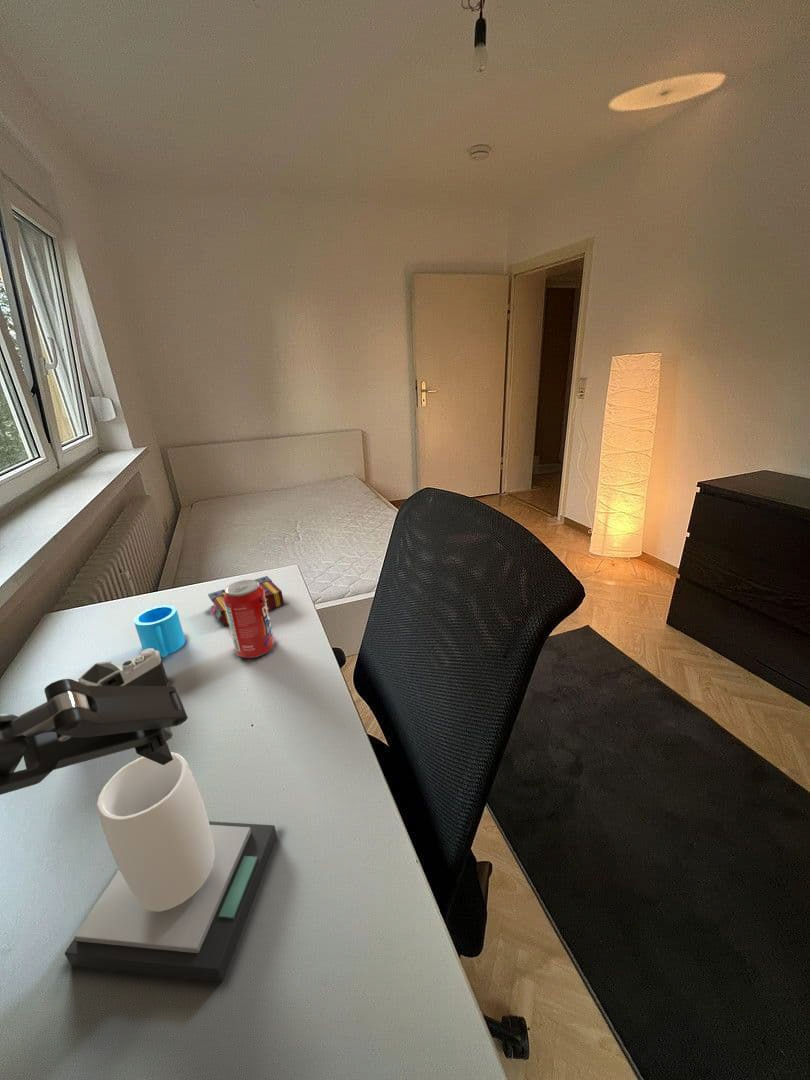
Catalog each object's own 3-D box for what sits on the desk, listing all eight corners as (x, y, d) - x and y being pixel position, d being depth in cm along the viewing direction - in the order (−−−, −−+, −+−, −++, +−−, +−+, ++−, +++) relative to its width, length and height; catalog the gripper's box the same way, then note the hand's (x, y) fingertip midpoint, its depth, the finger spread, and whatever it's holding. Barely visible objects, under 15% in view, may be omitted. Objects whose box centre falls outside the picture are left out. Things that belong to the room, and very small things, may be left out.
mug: (144, 644, 98) (134, 612, 95) (184, 632, 102) (175, 601, 99) (143, 673, 88) (132, 638, 85) (188, 659, 92) (178, 625, 89)
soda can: (228, 658, 91) (212, 593, 86) (251, 637, 98) (238, 576, 93) (260, 663, 89) (246, 597, 83) (282, 641, 96) (270, 579, 90)
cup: (137, 943, 43) (91, 843, 38) (132, 868, 49) (92, 775, 44) (228, 887, 47) (197, 790, 42) (212, 825, 54) (183, 735, 49)
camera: (151, 672, 88) (137, 629, 85) (176, 685, 84) (163, 640, 80) (61, 726, 76) (40, 678, 72) (86, 744, 71) (65, 694, 68)
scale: (71, 967, 44) (60, 948, 43) (159, 830, 57) (152, 813, 56) (223, 984, 42) (215, 964, 41) (277, 838, 55) (273, 820, 54)
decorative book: (285, 606, 110) (282, 588, 108) (218, 630, 102) (214, 611, 100) (269, 590, 119) (266, 573, 117) (207, 611, 110) (202, 593, 109)
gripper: (-1090, 1327, 9) (-157, 995, 26) (193, 675, 19) (249, 748, 37) (-886, 922, 12) (-166, 866, 29) (138, 547, 22) (214, 671, 40)
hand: (67, 800), depth 33 cm, fingers open, 13 cm apart
